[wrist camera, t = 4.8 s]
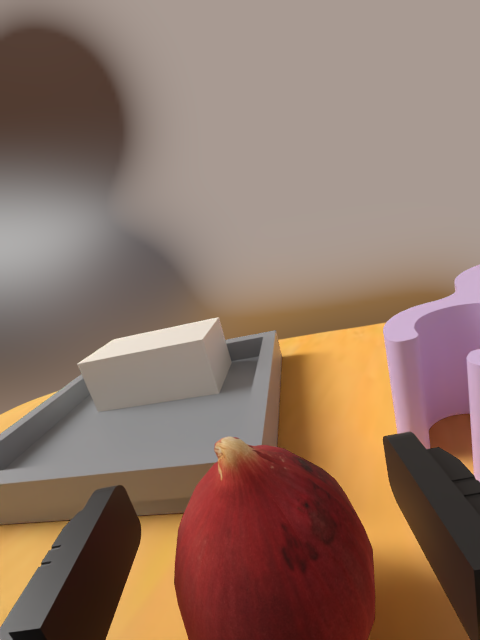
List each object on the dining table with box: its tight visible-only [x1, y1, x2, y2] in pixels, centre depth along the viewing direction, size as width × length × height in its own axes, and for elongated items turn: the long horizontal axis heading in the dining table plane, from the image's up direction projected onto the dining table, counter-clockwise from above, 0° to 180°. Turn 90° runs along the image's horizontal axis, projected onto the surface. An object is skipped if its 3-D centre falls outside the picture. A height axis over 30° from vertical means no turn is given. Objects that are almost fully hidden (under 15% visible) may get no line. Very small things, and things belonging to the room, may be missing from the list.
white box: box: [78, 318, 232, 412], centre depth 29 cm, size 12×6×5 cm, turn 81°
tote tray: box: [0, 330, 282, 525], centre depth 26 cm, size 22×18×3 cm
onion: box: [174, 437, 375, 640], centre depth 9 cm, size 6×6×8 cm
